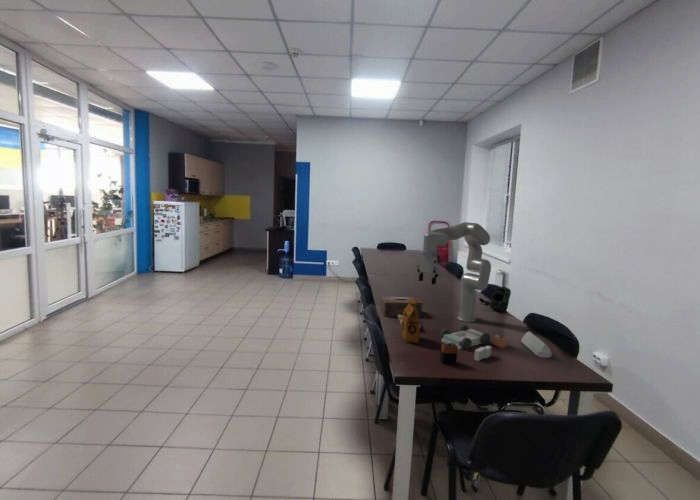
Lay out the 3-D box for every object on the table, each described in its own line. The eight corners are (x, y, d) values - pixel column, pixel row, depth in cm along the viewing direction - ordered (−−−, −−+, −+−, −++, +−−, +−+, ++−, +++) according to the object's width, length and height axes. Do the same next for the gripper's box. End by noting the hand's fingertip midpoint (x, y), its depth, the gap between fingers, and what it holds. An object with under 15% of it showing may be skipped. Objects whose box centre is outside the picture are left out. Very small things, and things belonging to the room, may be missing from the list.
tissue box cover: (415, 310, 270) (416, 297, 269) (421, 317, 256) (422, 302, 255) (379, 310, 267) (380, 296, 265) (384, 316, 253) (385, 302, 251)
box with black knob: (492, 344, 212) (493, 334, 211) (497, 342, 214) (498, 332, 213) (502, 348, 207) (503, 337, 206) (507, 346, 209) (508, 336, 208)
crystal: (517, 334, 218) (535, 351, 195) (528, 329, 218) (548, 345, 194) (522, 345, 219) (541, 363, 195) (533, 340, 218) (554, 357, 195)
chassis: (466, 333, 227) (467, 323, 226) (490, 343, 213) (491, 332, 212) (438, 339, 214) (439, 329, 213) (462, 350, 200) (463, 340, 199)
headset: (489, 316, 292) (509, 309, 264) (474, 308, 292) (492, 300, 265) (497, 297, 298) (517, 288, 271) (482, 288, 299) (500, 279, 272)
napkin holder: (474, 363, 186) (475, 352, 185) (465, 354, 197) (466, 343, 196) (503, 363, 188) (504, 352, 187) (492, 354, 199) (493, 343, 198)
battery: (439, 360, 187) (441, 341, 185) (452, 360, 187) (454, 341, 186) (443, 364, 182) (444, 344, 181) (456, 364, 183) (458, 344, 182)
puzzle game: (401, 323, 226) (398, 313, 246) (401, 331, 227) (397, 320, 247) (421, 324, 226) (416, 314, 246) (420, 332, 227) (415, 321, 246)
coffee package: (402, 342, 208) (405, 304, 204) (400, 334, 220) (402, 298, 217) (420, 343, 207) (423, 305, 204) (417, 335, 219) (420, 299, 216)
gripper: (445, 255, 217) (442, 284, 220) (422, 251, 231) (420, 279, 233) (436, 256, 213) (434, 286, 215) (413, 252, 226) (411, 280, 229)
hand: (427, 282), depth 224 cm, fingers open, 9 cm apart
